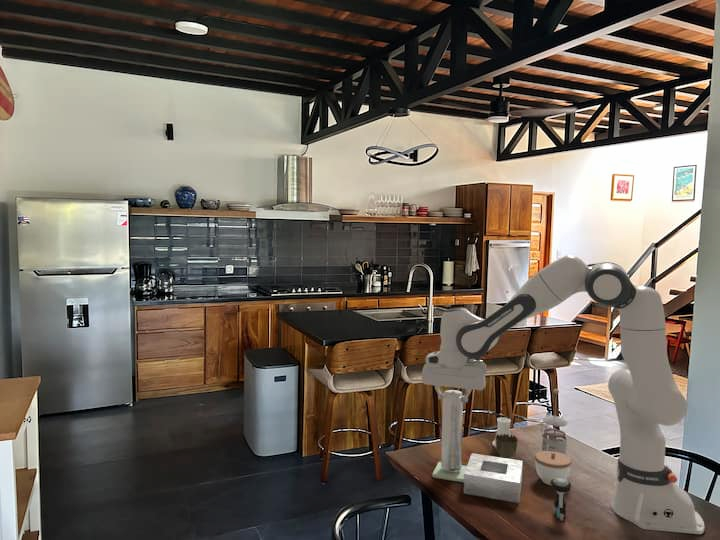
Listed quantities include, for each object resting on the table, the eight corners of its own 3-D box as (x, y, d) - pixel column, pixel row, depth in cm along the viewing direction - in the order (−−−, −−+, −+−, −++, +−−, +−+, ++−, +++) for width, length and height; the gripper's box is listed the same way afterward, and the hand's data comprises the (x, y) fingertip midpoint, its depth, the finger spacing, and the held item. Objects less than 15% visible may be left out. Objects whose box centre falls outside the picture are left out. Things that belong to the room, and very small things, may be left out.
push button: (572, 523, 142) (573, 487, 141) (551, 520, 143) (552, 485, 143) (568, 510, 149) (569, 476, 148) (548, 508, 150) (549, 474, 149)
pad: (468, 469, 174) (468, 466, 174) (463, 482, 165) (463, 479, 165) (438, 464, 178) (438, 461, 178) (432, 477, 168) (432, 474, 168)
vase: (488, 445, 194) (489, 419, 193) (499, 440, 199) (500, 414, 198) (506, 452, 188) (507, 424, 188) (517, 446, 193) (518, 420, 193)
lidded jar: (532, 472, 173) (533, 444, 172) (566, 475, 171) (567, 447, 170) (536, 487, 162) (537, 458, 161) (573, 491, 160) (574, 461, 159)
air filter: (464, 466, 172) (466, 390, 170) (457, 473, 166) (458, 395, 165) (445, 461, 175) (447, 387, 174) (437, 468, 170) (439, 392, 168)
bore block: (522, 479, 167) (522, 460, 167) (519, 503, 152) (519, 483, 152) (471, 470, 173) (471, 453, 172) (463, 493, 158) (464, 473, 157)
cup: (517, 465, 177) (518, 442, 177) (495, 463, 179) (496, 440, 178) (515, 456, 185) (516, 434, 184) (494, 454, 186) (495, 432, 186)
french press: (549, 467, 176) (551, 394, 175) (530, 453, 188) (532, 384, 186) (574, 464, 179) (577, 392, 177) (554, 450, 190) (557, 382, 188)
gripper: (488, 358, 168) (487, 401, 169) (425, 353, 175) (424, 394, 176) (485, 363, 162) (484, 407, 163) (420, 357, 169) (420, 399, 170)
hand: (452, 400), depth 169 cm, fingers closed on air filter, 6 cm apart
